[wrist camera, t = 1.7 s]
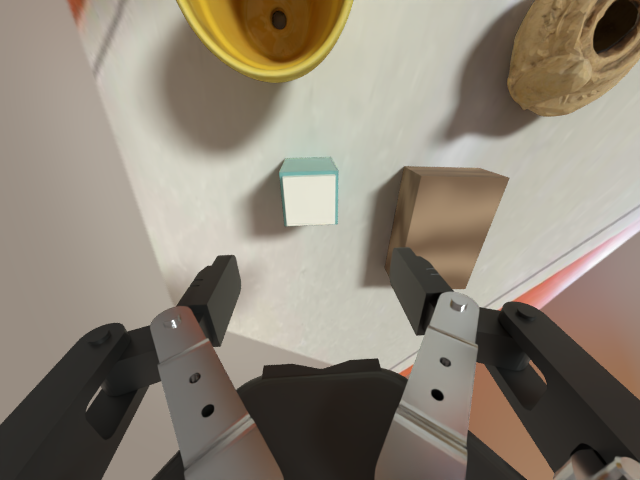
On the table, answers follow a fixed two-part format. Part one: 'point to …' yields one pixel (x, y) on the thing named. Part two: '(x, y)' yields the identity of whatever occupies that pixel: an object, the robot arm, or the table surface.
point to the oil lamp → (572, 53)
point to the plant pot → (268, 34)
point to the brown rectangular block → (446, 217)
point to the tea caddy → (309, 191)
